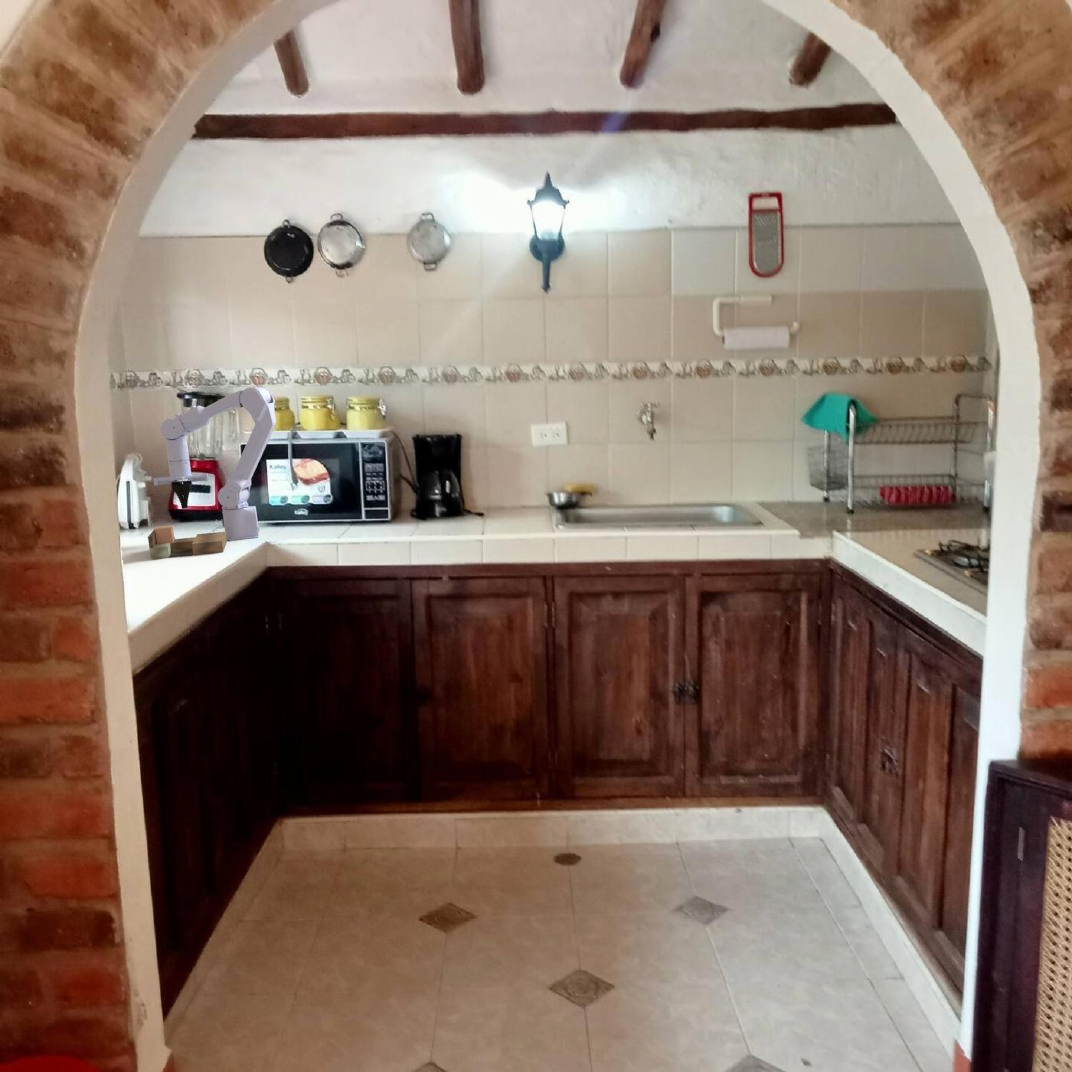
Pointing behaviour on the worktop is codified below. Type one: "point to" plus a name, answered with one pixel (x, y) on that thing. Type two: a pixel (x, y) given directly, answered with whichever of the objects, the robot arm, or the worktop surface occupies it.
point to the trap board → (187, 545)
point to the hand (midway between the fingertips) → (184, 508)
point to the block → (164, 534)
